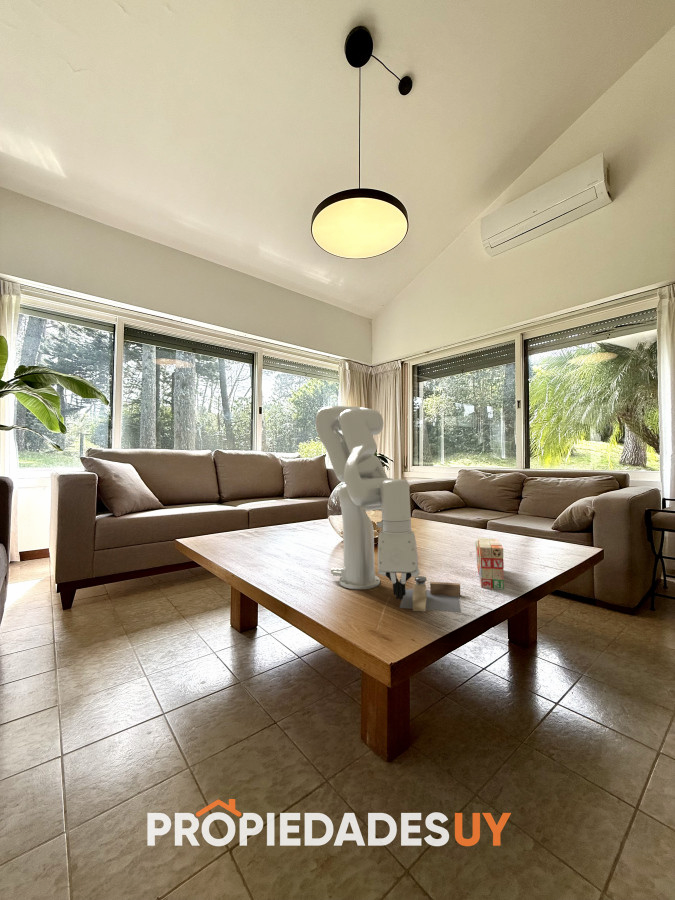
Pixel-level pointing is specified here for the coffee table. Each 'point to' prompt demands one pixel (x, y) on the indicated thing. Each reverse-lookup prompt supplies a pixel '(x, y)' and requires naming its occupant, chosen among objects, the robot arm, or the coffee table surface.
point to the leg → (419, 598)
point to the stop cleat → (445, 588)
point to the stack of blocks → (490, 563)
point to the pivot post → (420, 580)
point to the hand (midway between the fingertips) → (399, 597)
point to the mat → (433, 602)
